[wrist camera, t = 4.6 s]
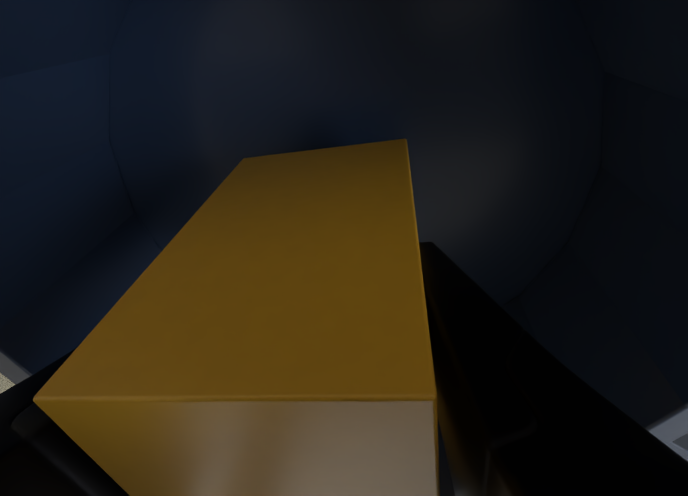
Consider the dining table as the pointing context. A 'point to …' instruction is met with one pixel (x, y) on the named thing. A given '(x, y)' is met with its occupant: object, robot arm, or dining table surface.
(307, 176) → the block
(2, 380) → the dining table surface
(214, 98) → the pot
